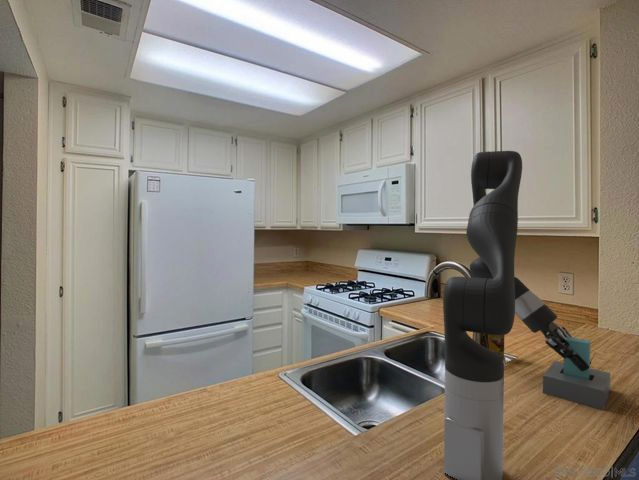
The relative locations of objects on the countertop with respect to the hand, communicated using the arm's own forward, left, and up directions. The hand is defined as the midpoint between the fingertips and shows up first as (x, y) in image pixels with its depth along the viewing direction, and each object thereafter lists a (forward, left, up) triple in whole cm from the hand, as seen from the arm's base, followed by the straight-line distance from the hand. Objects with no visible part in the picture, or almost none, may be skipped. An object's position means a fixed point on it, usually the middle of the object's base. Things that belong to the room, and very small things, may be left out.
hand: (586, 367), depth 85 cm
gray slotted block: (0, +2, -7) cm, 7 cm away
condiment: (+10, +26, -7) cm, 29 cm away
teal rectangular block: (0, +2, -5) cm, 6 cm away
